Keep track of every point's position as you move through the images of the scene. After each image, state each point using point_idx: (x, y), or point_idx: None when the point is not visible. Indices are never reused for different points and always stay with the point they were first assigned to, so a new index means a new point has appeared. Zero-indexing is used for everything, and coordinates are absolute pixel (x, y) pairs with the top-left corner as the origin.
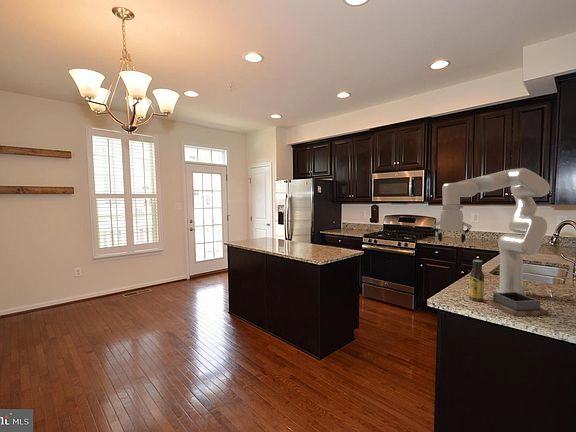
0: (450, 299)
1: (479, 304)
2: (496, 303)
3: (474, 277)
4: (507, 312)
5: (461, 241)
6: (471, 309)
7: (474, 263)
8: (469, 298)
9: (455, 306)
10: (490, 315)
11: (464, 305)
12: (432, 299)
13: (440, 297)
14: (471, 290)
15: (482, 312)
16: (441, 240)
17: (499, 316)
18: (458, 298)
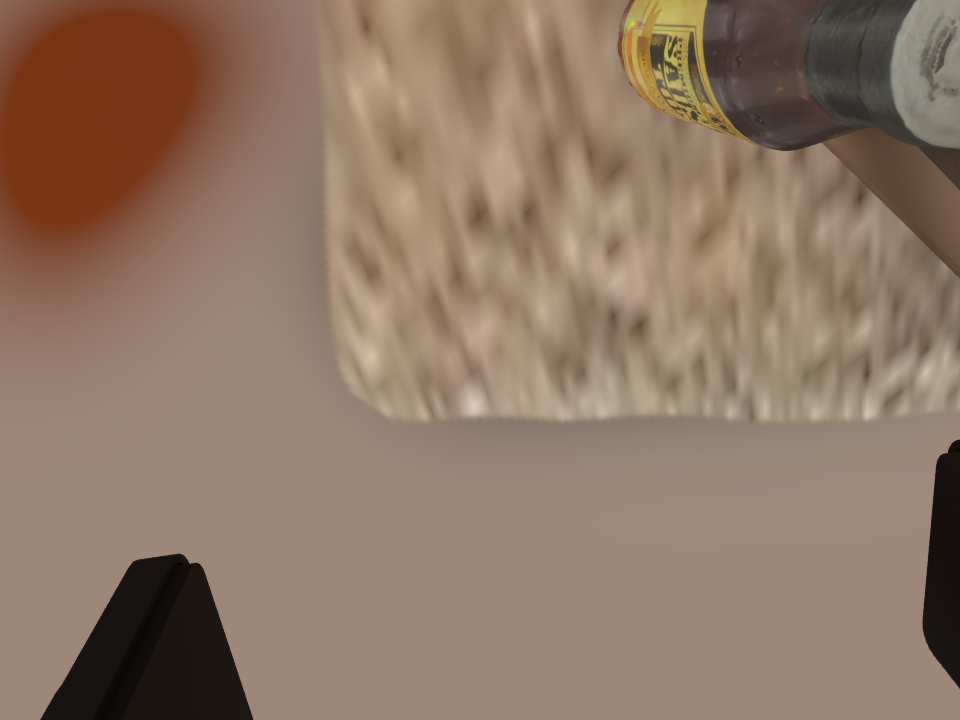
0: (475, 227)
1: (732, 185)
2: (888, 146)
3: (783, 147)
4: (953, 269)
5: (947, 669)
6: (690, 375)
7: (893, 135)
8: (629, 83)
9: (566, 394)
10: (829, 409)
11: (623, 313)
12: (342, 351)
13: (376, 234)
14: (682, 118)
15: (773, 384)
16: (229, 684)
17: (889, 384)
18: (529, 133)
